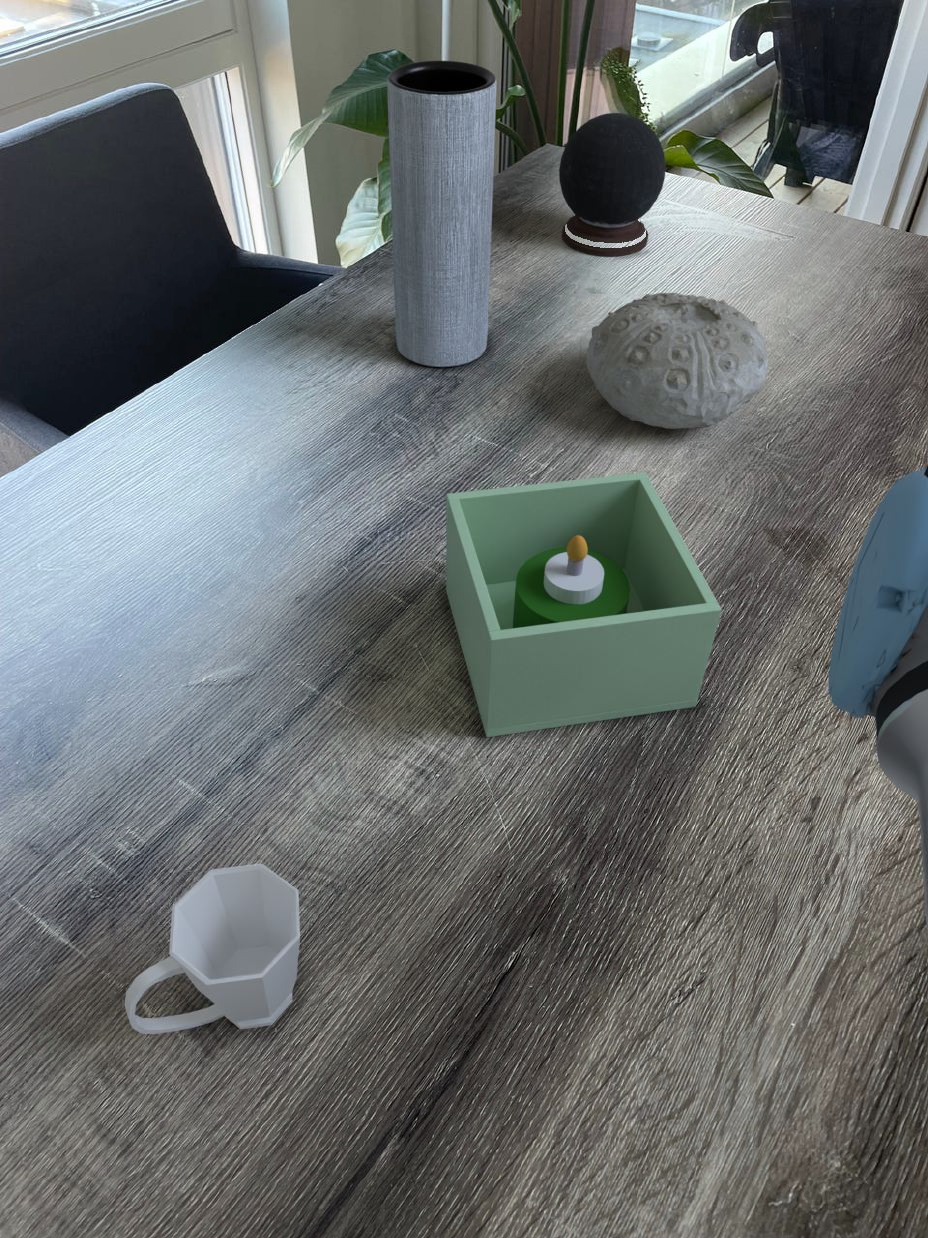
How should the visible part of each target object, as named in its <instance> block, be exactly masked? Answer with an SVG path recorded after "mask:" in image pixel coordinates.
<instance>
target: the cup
mask: <svg viewBox="0 0 928 1238" xmlns="http://www.w3.org/2000/svg"><path fill="white" fill-rule="evenodd" d="M299 897H300V893H299V889H298V888H296V887H295V886H293V885H292V884H291V883H289V881H287V880H285V879H284V878H283V877H281V876H280V875H279V874H277V873H275V872H274V871H273V870H272V869H270V868H268V867H267V866H266V865H265V864H263V863H262V862H261V863H253V864H246V865H238V866H236V865H235V866H229V867H221V868H212V869H210V870H208V871H207V873H205V874H204V875H203V876H202V877H201V878H200V879H199V880H198V881H196V883H195V884H194V885H193V886H191V888H190V889H188V891H186V892H185V893H184V894H183V895H182V896H181V897H180V898H178V900H177V901H176V902H174V904H173V905H172V906H171V919H170V920H171V921H170V936H169V937H170V938H169V949H168V951H169V952H168V954H169V957H166V958H164V959H162V960H160V961H159V962H157V963H155V964H153V965H151V966H149V967H148V968H146V969H145V970H143V971H142V972H141V973H140V974H138V975H137V976H136V977H135V978H134V980H133V981H132V983H131V984H130V985H129V987H128V988H127V989H126V992H125V998H124V1008H125V1013H126V1016H127V1018H128V1021H129V1024H130V1026H131V1029H133V1030H134V1031H136V1032H138V1033H139V1034H141V1035H147V1034H148V1035H158V1034H166V1033H172V1032H179V1031H184V1030H188V1029H193V1028H197V1027H201V1026H204V1025H208V1024H210V1023H213V1022H216V1021H217V1020H220V1019H221V1018H223V1017H225V1018H226V1019H227V1020H228V1021H229V1022H231V1023H232V1024H233V1025H235V1026H236V1027H237V1028H238V1029H239V1030H248V1029H254V1028H262V1027H267V1026H272V1025H273V1024H274V1023H275V1022H276V1021H277V1020H278V1019H279V1018H280V1016H281V1015H282V1014H283V1013H284V1012H285V1011H286V1009H287V1008H288V1007H289V1006H290V1005H291V1004H292V1003H293V990H294V987H295V984H296V981H297V978H298V968H299V967H298V966H299V954H300V945H301V944H300V943H301V926H300V925H301V924H300V922H301V921H300V898H299ZM183 973H185V976H187V978H188V979H189V980H190V982H191V983H192V984H193V986H194V987H195V988H196V989H197V990H198V991H199V992H200V993H201V994H202V995H203V996H205V997H206V999H208V1000H209V1001H211V1002H212V1003H213V1004H212V1005H210V1006H208V1007H204V1008H201V1009H198V1010H194V1011H191V1012H186V1013H181V1014H175V1015H169V1016H168V1015H167V1016H160V1017H141V1016H139V1015H137V1014H136V1011H137V1010H136V1007H137V1004H138V1002H140V1000H141V998H142V997H143V995H144V994H145V992H146V991H147V990H148V989H149V988H151V987H152V986H154V985H155V984H157V983H160V982H163V981H164V980H167V979H169V978H171V977H174V976H178V975H180V974H183Z"/></svg>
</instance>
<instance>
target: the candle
mask: <svg viewBox="0 0 928 1238" xmlns="http://www.w3.org/2000/svg"><path fill="white" fill-rule="evenodd" d="M629 593H630V586H629V581H628V579H627V577H626V575H625V573H624V572H623V571H622V569H621V568H620V567H619V566H618V565H617V564H615V563H614V562H613V561H612V560H610V559H608V558H607V557H605V556H603V555H600V554H598V553H596V552H592V551H589V550H588V548H587V543H586V541H585V539H584V538H583V537H582V536H580V535H576V536H574V537H573V538H572V539H571V540H570V542H569V543H568V546H567V548H557V549H551V550H547V551H543V552H541V553H539V554H536V555H534V556H533V557H531V558H530V559H528V560H527V561H526V562H525V563H524V564H523V565H522V566H521V568H520V570H519V571H518V574H517V578H516V587H515V601H514V615H513V628H521V627H529V626H536V625H544V624H551V623H559V622H567V621H574V620H582V619H590V618H597V617H605V616H613V615H620V614H626V611H627V606H628V600H629Z"/></svg>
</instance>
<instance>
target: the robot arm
mask: <svg viewBox="0 0 928 1238" xmlns="http://www.w3.org/2000/svg"><path fill="white" fill-rule="evenodd" d="M840 609H841V610H840V614H839V618H838V623H837V626H836V630H835V635H834V640H833V646H832V651H831V656H830V663H829V670H828V694H829V696H830V697H831V703H832V704H833V705H835V707H836V708H837V709H838V710H840V711H843V712H847V713H848V714H849V715H851V716H852V717H853V718H855V719H863V718H864V717H865V716H870V717H874V719H875V730H876V731H875V732H876V733H875V734H876V754H877V760H878V764H879V766H880V768H881V770H882V772H883V774H884V775H885V776H886V778H887V779H888V780H889V781H890V782H891V783H892V784H893V785H894V786H895V787H896V788H897V789H899V790H900V791H901V792H903V793H904V794H906V795H908V796H909V797H911V798H912V799H913V800H915V801H916V802H917V803H918V813H919V827H920V828H919V829H920V841H921V842H920V844H921V861H922V877H923V893H924V909H925V923H926V925H925V926H926V941H927V944H928V464H927V465H926V468H921V469H918V470H915V471H911V472H909V473H907V474H905V475H904V476H903V477H901V478H899V479H898V480H897V481H896V482H894V484H892V486H891V487H890V488H889V489H888V491H887V492H886V493H885V494H884V497H883V498H882V500H881V501H880V503H879V505H878V507H877V509H876V511H875V513H874V515H873V517H872V519H871V522H870V524H869V526H868V529H867V530H866V533H865V536H864V538H863V540H862V543H861V547H860V549H859V551H858V555H857V557H856V560H855V563H854V566H853V569H852V572H851V575H850V578H849V581H848V584H847V588H846V591H845V596H844V599H843V603H842V606H841V608H840Z"/></svg>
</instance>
